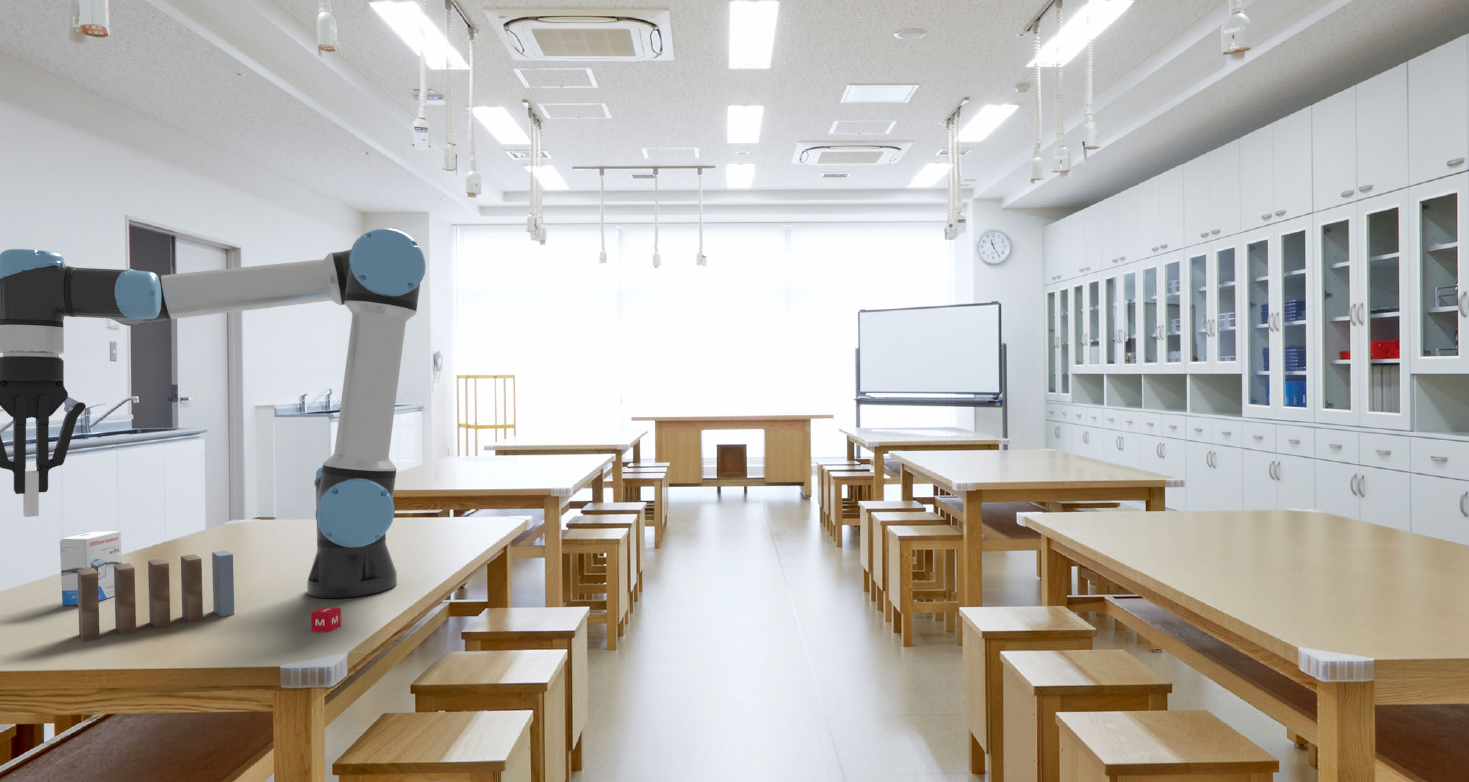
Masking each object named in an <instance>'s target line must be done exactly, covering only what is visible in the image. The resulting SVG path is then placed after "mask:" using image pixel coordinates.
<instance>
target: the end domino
mask: <svg viewBox="0 0 1469 782" xmlns="http://www.w3.org/2000/svg"><path fill="white" fill-rule="evenodd" d="M77 573H78V605H77V607H78V632H79V633H78V635H79V637H80V639H81V640H82V642H88V641H93V640H99V639H100V638H101V637H100V634H101V633H100V604H99V603H100V601H99V593H98V572H97V571H96V570H95V569H94V568H89V569H81V570H77Z"/></svg>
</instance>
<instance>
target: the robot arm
mask: <svg viewBox="0 0 1469 782" xmlns="http://www.w3.org/2000/svg"><path fill="white" fill-rule="evenodd" d="M64 261H65V259H64V257H63V256H62V254H60V253H57V252H54V251H50V250H49V251H48V250H37V249H29V248H28V249H27V248H10V249H6V250H3V251H2V252H1V253H0V353H1V354H2V356H0V407H1V408H2V409H3V410H4V412H6V414H7V415H9V416H10V417H11V418H12V425H13V434H12V435H13V437H12V438H13V440H12V441H13V442H12V444H13V445H12V448H13V449H12V450H13V453H12V454H13V457H12V458H13V460H9V457H8V454H7V451H6V449H5V448H6V447H5V445H4V442H3V439H2V436H1V434H0V469H5V470H9V471H11V472H12V473H13V492H14V493H15V495H22V496H23V497H22V499H23V500H22V501H23V502H22V503H23V508H22V509H23V513H22V514H23V517H25V518H28V517H29V518H31V517H39V508H40V506H39V504H40V502H39V501H40V500H39V498H40V497H39V495H40V494H39V493H47V492H48V490H49V471H50V470H51V469H52V468H56V467H59V466H62V465H64V463H65V460H66V457H67V454H68V451H69V446H70V443H71V440H72V437H73V434H74V430H75V427H76V424H77V421H78V418H79V417H80V415H81V414H82V413H83V412H84V410H86V407H87V405H86V403H84V402H82V401H81V402H80V401H77V400H76V399H74V398H72V397H71V396H69V392H68V391H67V390H66V387H65V385H64V383H65V382H64V380H65V379H64V375H65V374H64V370H65V369H64V368H65V367H64V365H65V363H64V361H65V360H63V358H61V357H60V356H59V355H62V354H64V352H65V348H64V347H65V346H64V345H65V344H64V329H65V328H64V324H65V323H64V319H65V317H70V318H92V319H93V318H95V319H110V320H113V321H115V322H117V323H119V324H121V325H124V326H129V327H134V326H135V327H136V326H137V327H138V326H144V325H147V324H149V323H153V322H161V321H162V322H163V321H168V320H175V319H176V320H177V319H183V318H184V319H186V318H193V317H201V316H210V315H217V314H218V315H219V314H228V313H229V314H230V313H236V312H237V313H238V312H244V311H245V312H246V311H255V310H260V309H261V310H262V309H269V308H278V307H279V308H280V307H289V306H296V305H305V304H306V305H307V304H312V303H313V304H314V303H319V302H320V303H321V302H329V301H330V302H333V303H335V304H336V305H338V306H344V305H345V307H346V308H347V309H348V311H350V312H351V315H352V317H351V323H350V330H349V331H350V332H349V339H348V347H347V356H346V360H345V371H344V378H343V385H342V392H341V400H340V408H339V415H338V422H337V424H338V425H337V431H336V438H335V445H334V453H333V454H332V455H331V456H330V457H328V458H327V459H326V460H325V461H323V463H322V466H320V467H319V468H318V469H317V470H316V471H315V478H314V479H315V480H314V482H313V483H314V487H315V502H316V503H315V505H316V506H315V508H316V510H315V521H316V546H317V548H316V554H315V557H314V559H313V562H312V566H311V569H310V572H309V576H308V578H307V584H306V585H307V587H306V588H307V589H306V590H307V595H309V596H311V597H315V598H319V599H321V598H322V599H339V598H341V599H342V598H343V599H344V598H353V597H360V596H361V597H362V596H368V595H373V594H378V593H381V592H384V591H388V590H389V589H392V588H394V587H395V586H396V585H397V584H398V579H397V577H398V576H397V570H396V567H395V565H394V562H393V558H392V557H391V554H390V552H389V548H388V546H387V542H386V541H387V539H386V538H387V537H386V535H387V534H386V533H387V531H388V530H389V529H390V527H391V526H392V524H393V521H394V518H395V514H396V513H395V511H396V509H395V502H394V493H395V492H394V491H395V485H396V484H395V483H396V476H397V467H396V466H395V465H394V463H393V462H392V461H391V459H390V456H389V455H390V448H391V441H392V435H393V434H392V433H393V425H394V417H395V412H396V411H395V410H396V404H397V403H396V402H397V395H398V385H399V380H400V379H399V378H400V373H401V372H400V370H401V362H402V356H403V355H402V353H403V347H404V340H405V332H406V331H405V330H406V326H407V325H406V323H407V322H408V321H409V320H411V318H412V317H414V316H415V315H416V314H417V313H418V312H417V309H418V304H419V303H418V302H419V295H420V288H421V287H420V286H421V282H422V281H423V279H424V277H425V274H426V260H425V256H424V252H423V250H422V248H421V247H420V245H419V244H418V242H417V241H416V240H415V239H413V238H412V237H411V236H410V235H409V234H407V233H405V232H403V231H400V230H398V229H396V228H395V229H394V228H390V227H389V228H387V227H386V228H384V227H383V228H382V227H381V228H375V229H372V230H370V231H367V232H365V233H363V234H361V236H360V237H359V238H357V239H356V240H355V241H354V243H353V244H352V247H351V249H347V250H344V251H337V252H335V251H334V252H329V253H328V254H326V257H324V258H322V259H313V260H304V261H303V260H302V261H292V262H283V263H274V264H264V265H263V264H262V265H251V266H243V267H242V266H241V267H233V268H222V269H221V268H220V269H214V270H213V269H212V270H202V271H192V272H184V273H183V272H181V273H173V274H164V275H163V274H162V275H158V274H156V273H154V272H153V271H146V270H145V271H144V270H136V269H131V268H127V269H115V268H92V267H75V266H69V265H66V262H64ZM63 404H64V409H63V410H64V412H65V413H66V414H65V416H64V418H63V422H62V425H61V428H60V433H59V434H58V438H57V442H56V446H55V449H54V451H53V454H52V458H49V457H50V455H49V454H50V453H49V449H50V448H49V446H50V444H49V443H50V442H49V441H50V440H49V439H50V438H49V435H50V433H49V428H50V427H49V425H50V417H51V416H53V415H54V413H55V412H56V411H57V410H58V409H59V408H60V407H61V406H62V405H63ZM29 418H34V419H35V467H36V470H26V468H27V467H26V466H27V458H26V457H27V419H29Z"/></svg>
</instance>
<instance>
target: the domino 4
mask: <svg viewBox="0 0 1469 782" xmlns="http://www.w3.org/2000/svg"><path fill="white" fill-rule="evenodd" d="M211 563H212V564H211V566H212V567H211V568H212V569H211V570H212V599H213V601H212V603H213V604H212V606H213V609H212V610H213V612H214V613H215V614H216V615H218V616H219V617H226V616H227V617H228V616H232V615H233V616H234V615H235V590H234V588H235V583H234V581H235V579H234V554H233V553H231V552H230V551H227V550H226V549H225V550H219V551H217V550H216V551H212V552H211Z"/></svg>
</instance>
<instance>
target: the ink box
mask: <svg viewBox="0 0 1469 782" xmlns="http://www.w3.org/2000/svg"><path fill="white" fill-rule="evenodd" d="M122 552H123V551H122V535H121V531H120V530H118V531H117V530H115V531H114V530H113V531H110V530H107V531H106V530H105V531H104V530H103V531H102V530H101V531H100V530H99V531H96V530H95V531H90V532H86V533H81V534H77V535H72V536H67V537H63V538H61V539H60V540H59V553H60V554H59V555H60V574H61V575H60V579H61V582H60V583H61V600H62V601H61V602H62V603H61V604H62V606H78V573H77V570H81V569H89V568H94V569H95V570H96V571H97V572H98V593H99V602H100V601H103V600H108V599H110V598H113V597H115V589H114V565H119V564H123V558H122V557H123V555H122Z"/></svg>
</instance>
